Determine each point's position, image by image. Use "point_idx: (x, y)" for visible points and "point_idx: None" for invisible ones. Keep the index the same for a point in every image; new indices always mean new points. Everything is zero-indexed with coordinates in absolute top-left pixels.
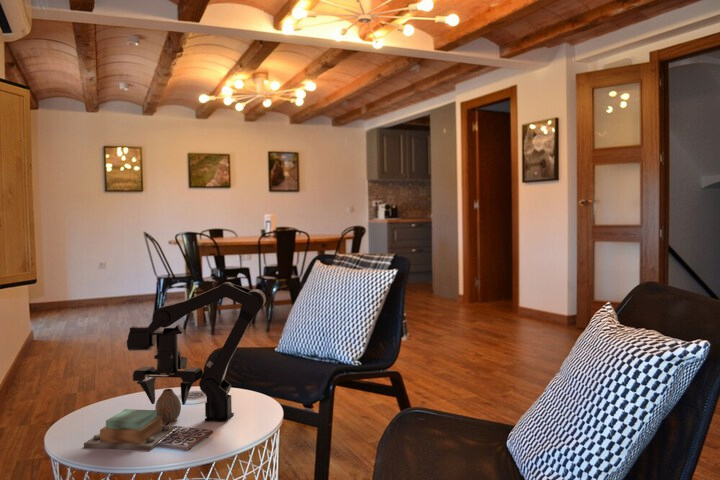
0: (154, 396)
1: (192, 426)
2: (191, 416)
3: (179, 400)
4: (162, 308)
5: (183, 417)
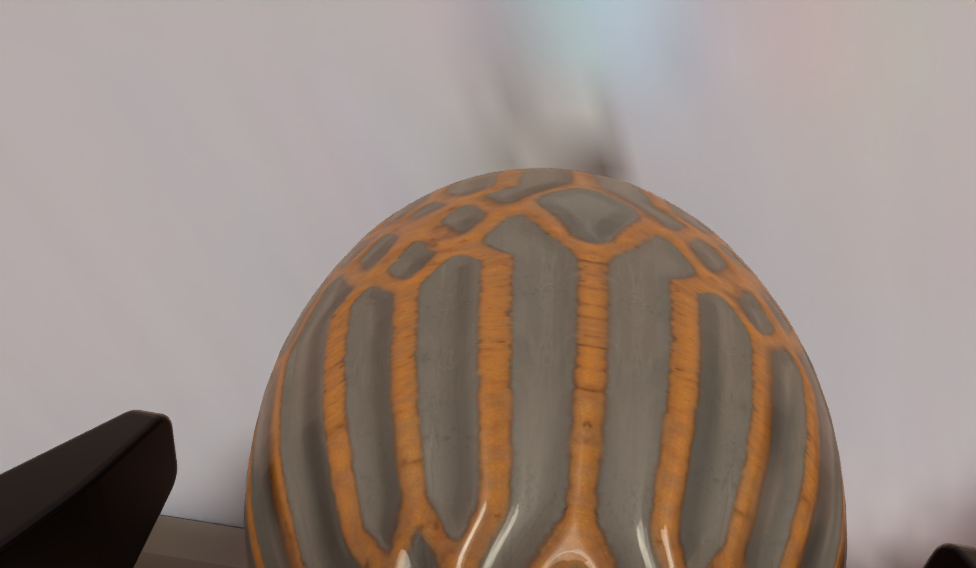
0: (49, 549)
1: (934, 546)
2: (918, 153)
3: (845, 535)
4: None
5: (767, 197)
